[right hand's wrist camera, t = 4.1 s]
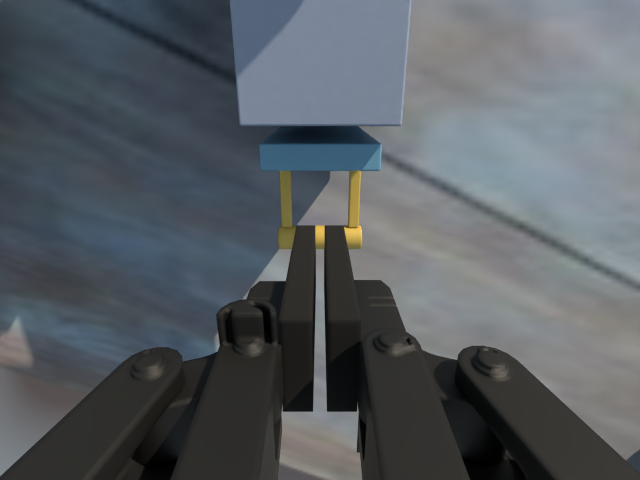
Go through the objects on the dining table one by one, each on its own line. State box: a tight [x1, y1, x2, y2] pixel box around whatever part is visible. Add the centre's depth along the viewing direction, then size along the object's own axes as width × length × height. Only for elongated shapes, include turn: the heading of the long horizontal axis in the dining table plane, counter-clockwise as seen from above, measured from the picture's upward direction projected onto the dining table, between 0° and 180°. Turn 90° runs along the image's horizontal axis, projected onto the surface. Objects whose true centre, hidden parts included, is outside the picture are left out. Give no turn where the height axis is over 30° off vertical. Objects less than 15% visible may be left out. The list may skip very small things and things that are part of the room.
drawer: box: [259, 127, 382, 249], centre depth 18 cm, size 25×5×10 cm, turn 0°
